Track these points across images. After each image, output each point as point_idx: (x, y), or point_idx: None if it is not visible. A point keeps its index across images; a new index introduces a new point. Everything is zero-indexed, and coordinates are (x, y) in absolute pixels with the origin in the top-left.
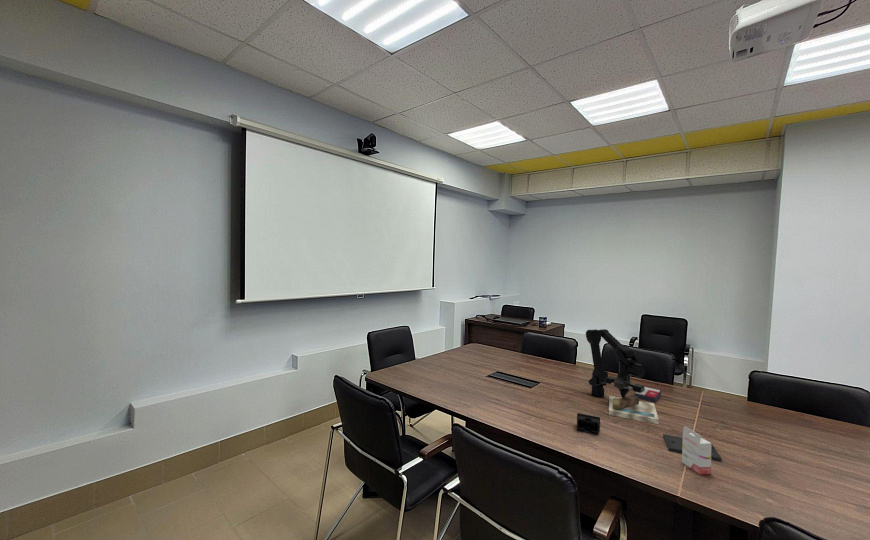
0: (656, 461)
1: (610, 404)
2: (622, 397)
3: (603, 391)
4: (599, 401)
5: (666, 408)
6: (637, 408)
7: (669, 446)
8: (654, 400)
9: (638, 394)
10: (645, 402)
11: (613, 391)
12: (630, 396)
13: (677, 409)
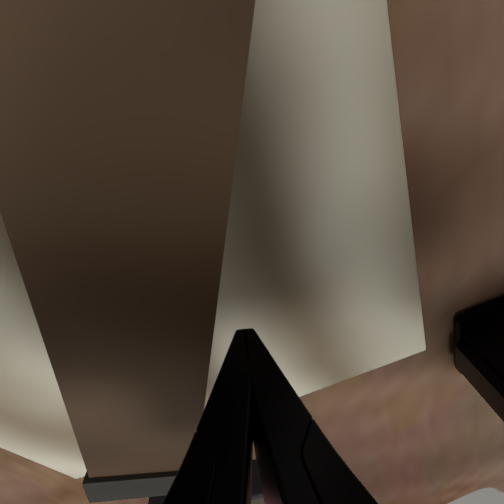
0: None
1: (364, 43)
2: (254, 350)
3: (495, 377)
4: (485, 207)
5: (53, 475)
6: (7, 283)
7: None
8: (153, 499)
9: (251, 497)
10: None
11: (397, 438)
12: (175, 450)
13: (16, 500)
